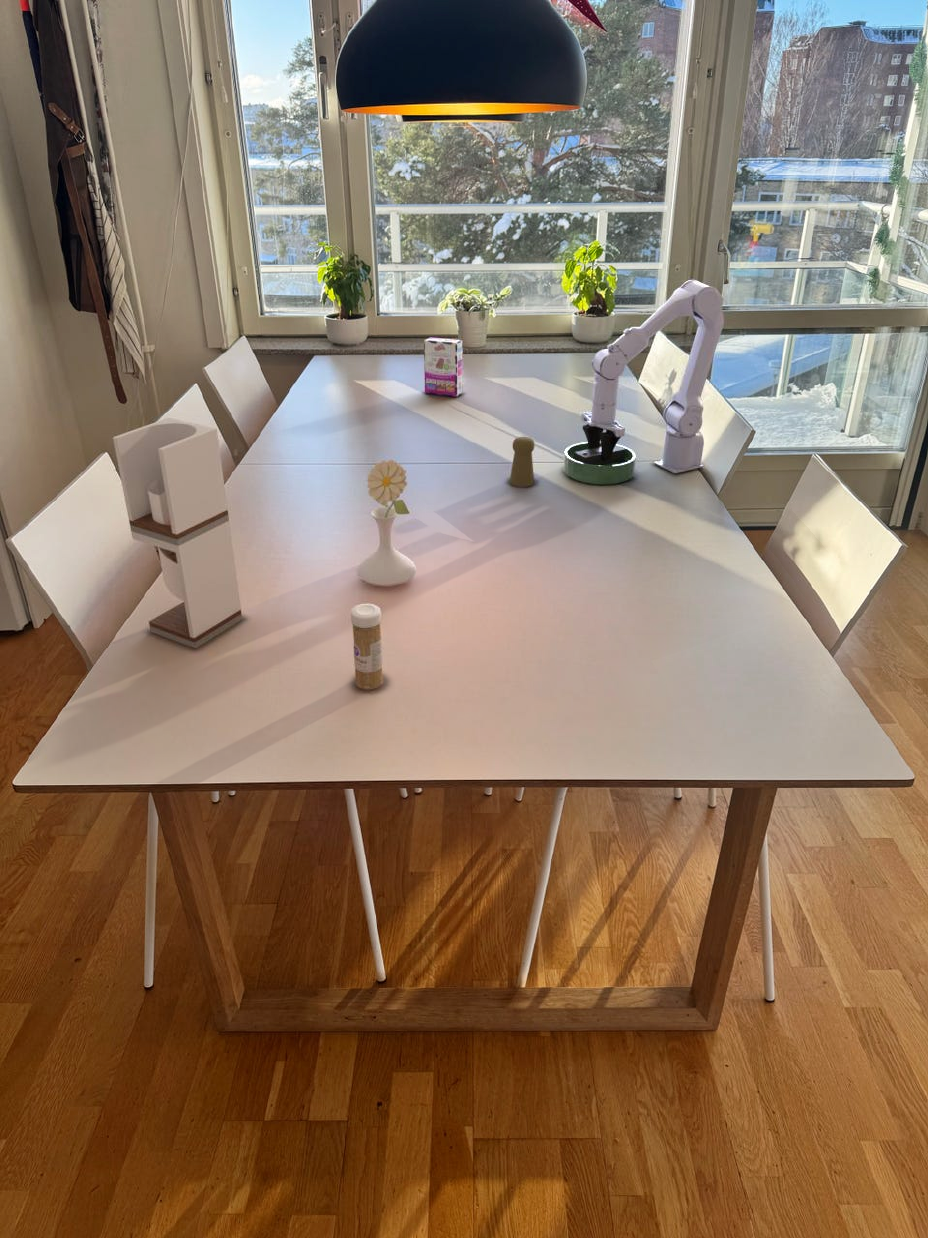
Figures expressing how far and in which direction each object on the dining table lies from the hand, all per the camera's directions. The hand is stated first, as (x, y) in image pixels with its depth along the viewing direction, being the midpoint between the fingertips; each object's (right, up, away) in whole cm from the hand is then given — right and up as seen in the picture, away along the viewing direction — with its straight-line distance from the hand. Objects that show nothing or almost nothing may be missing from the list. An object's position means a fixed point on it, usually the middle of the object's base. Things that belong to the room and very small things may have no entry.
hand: (599, 456), depth 221 cm
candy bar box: (-40, +30, +60) cm, 78 cm away
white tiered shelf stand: (-80, -41, -63) cm, 110 cm away
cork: (-19, -7, -3) cm, 21 cm away
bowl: (0, -4, +2) cm, 4 cm away
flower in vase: (-48, -33, -47) cm, 75 cm away
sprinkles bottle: (-48, -50, -78) cm, 104 cm away
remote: (0, -1, +1) cm, 1 cm away
